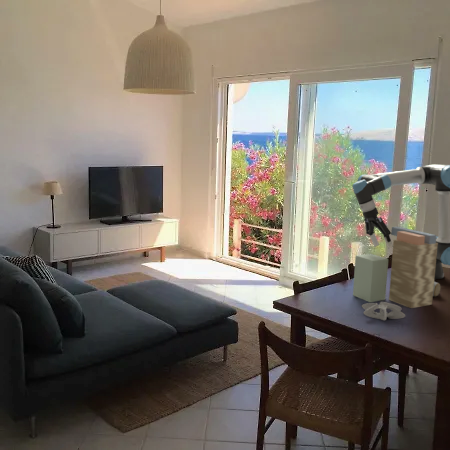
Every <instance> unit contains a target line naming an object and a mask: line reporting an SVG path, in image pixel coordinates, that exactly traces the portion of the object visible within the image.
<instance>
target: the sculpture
mask: <svg viewBox="0 0 450 450" xmlns="http://www.w3.org/2000/svg"><path fill="white" fill-rule="evenodd" d="M361 307H362V309H364V311H363V315H364V316H366V317H369V318H373V319H377V320H381V321H387V318H388V319H389V320H390V319H393V320H396V319H403V318H406V314H405V313H404V312H402V307H401V306H400V305H397V304H394V303H391V302H386V301H379V304H378V303H377V302H368V303H364V304H362V305H361ZM377 309H379V312H377V311H375V310H377ZM387 309H388V310H391V311H390V312H387Z"/></svg>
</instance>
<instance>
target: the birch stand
mask: <svg viewBox="0 0 450 450" xmlns="http://www.w3.org/2000/svg"><path fill="white" fill-rule="evenodd" d="M392 244H393V247H392V258H391V270H390V283H389V293H388V296H389V297H388V300H389V301H391V302H394V303H397V304H399V305H401V306H403V307H406V308H409V309H414V308H420V307H425V306H430V305H433V299H434V298H433V297H434V296H433V288H434V282H435V279H434V278H435V267H436V257H437V246H438V243H435V244H427V243H424V245H415V244H411V243H407V242H403V241H399V240H397V239H393V241H392Z"/></svg>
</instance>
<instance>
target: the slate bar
mask: <svg viewBox="0 0 450 450" xmlns="http://www.w3.org/2000/svg"><path fill="white" fill-rule="evenodd" d="M399 231H405V232H410V233H414V234H418V235H423V236H425V240H424V243H427V244H435V243H436V236H437V235H436V234H433V233H428V232H425V231H420V230H415V229H410V228H406V227H400V226H391V231H390V232H391V234H390V235H391V236H394V237H397V232H399Z"/></svg>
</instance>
